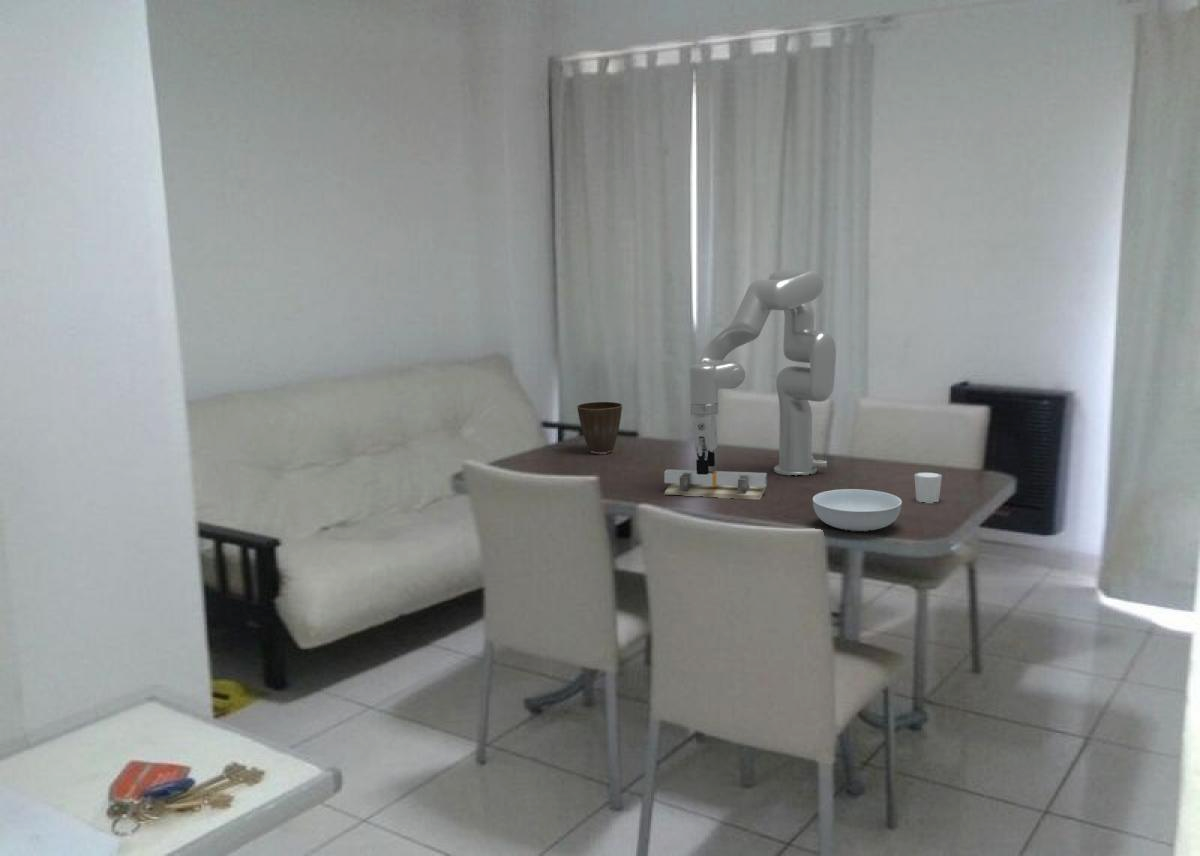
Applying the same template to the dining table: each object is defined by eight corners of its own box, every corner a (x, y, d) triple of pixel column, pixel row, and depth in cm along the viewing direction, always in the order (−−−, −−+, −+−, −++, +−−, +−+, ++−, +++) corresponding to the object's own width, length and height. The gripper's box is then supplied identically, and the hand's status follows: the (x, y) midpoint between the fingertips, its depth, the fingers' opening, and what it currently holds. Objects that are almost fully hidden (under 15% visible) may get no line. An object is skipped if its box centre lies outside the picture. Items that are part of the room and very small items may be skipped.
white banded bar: (767, 484, 282) (767, 472, 282) (765, 487, 279) (765, 475, 278) (666, 480, 290) (666, 469, 289) (664, 483, 287) (664, 471, 286)
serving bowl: (795, 528, 248) (795, 500, 247) (842, 511, 262) (843, 485, 261) (871, 544, 233) (872, 514, 232) (917, 525, 247) (918, 497, 246)
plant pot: (601, 458, 334) (600, 410, 331) (569, 453, 344) (567, 406, 341) (632, 451, 344) (631, 404, 342) (600, 446, 354) (598, 400, 352)
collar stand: (765, 489, 287) (765, 471, 286) (759, 499, 276) (759, 481, 275) (673, 485, 294) (673, 468, 293) (664, 495, 283) (664, 477, 282)
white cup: (919, 496, 275) (920, 470, 274) (945, 499, 271) (946, 473, 270) (909, 501, 270) (910, 475, 269) (935, 505, 266) (936, 478, 264)
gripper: (712, 415, 272) (714, 477, 276) (723, 404, 289) (724, 463, 292) (684, 414, 275) (686, 477, 278) (696, 403, 291) (698, 462, 294)
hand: (705, 470), depth 285 cm, fingers open, 9 cm apart
